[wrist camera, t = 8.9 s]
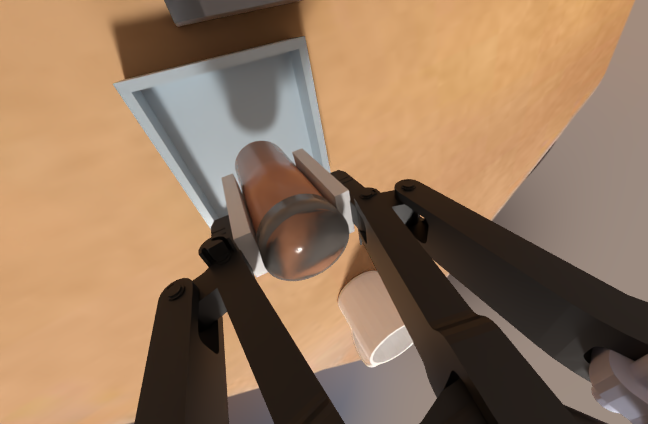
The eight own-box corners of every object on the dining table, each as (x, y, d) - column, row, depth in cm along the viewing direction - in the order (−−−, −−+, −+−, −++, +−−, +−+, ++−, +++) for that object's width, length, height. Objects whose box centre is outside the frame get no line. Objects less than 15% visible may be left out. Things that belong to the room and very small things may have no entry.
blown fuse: (223, 150, 16) (246, 233, 9) (279, 131, 17) (342, 191, 10) (246, 198, 19) (279, 293, 11) (294, 179, 20) (353, 256, 12)
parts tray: (124, 79, 16) (112, 84, 13) (291, 38, 18) (304, 36, 16) (220, 229, 24) (223, 247, 22) (323, 186, 27) (335, 199, 25)
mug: (355, 267, 38) (395, 322, 30) (393, 271, 44) (435, 318, 36) (321, 320, 42) (349, 380, 34) (360, 317, 48) (392, 368, 40)
